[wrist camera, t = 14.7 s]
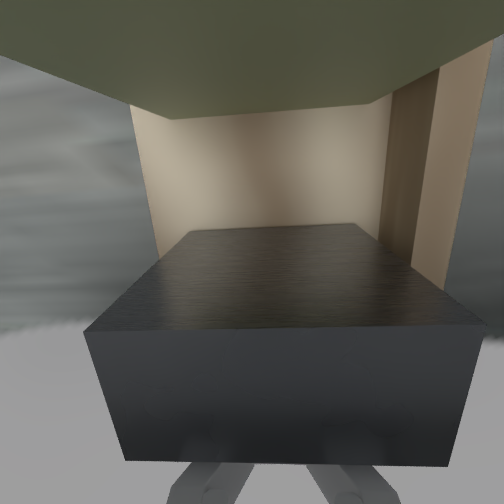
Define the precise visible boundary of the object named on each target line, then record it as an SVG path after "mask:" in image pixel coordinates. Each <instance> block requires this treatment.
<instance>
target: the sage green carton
mask: <svg viewBox="0 0 504 504" xmlns="http://www.w3.org/2000/svg"><path fill="white" fill-rule="evenodd" d="M502 34H504V0H0V55H2V56H4V57H7V58H9V59H12V60H15V61H17V62H20V63H23V64H25V65H28V66H30V67H33V68H36V69H38V70H41V71H44V72H46V73H49V74H51V75H54V76H57V77H59V78H62V79H65V80H67V81H70V82H72V83H75V84H78V85H80V86H83V87H86V88H88V89H91V90H93V91H96V92H99V93H101V94H104V95H106V96H109V97H112V98H114V99H117V100H120V101H122V102H125V103H127V104H130V105H133V106H135V107H138V108H141V109H143V110H146V111H148V112H151V113H154V114H156V115H159V116H162V117H164V118H167V119H169V120H175V119H188V118H201V117H213V116H226V115H238V114H251V113H264V112H276V111H289V110H301V109H314V108H326V107H339V106H352V105H364V104H370V103H372V102H374V101H376V100H378V99H380V98H382V97H384V96H386V95H388V94H389V93H391V92H393V91H395V90H397V89H399V88H401V87H403V86H405V85H407V84H409V83H410V82H412V81H414V80H416V79H418V78H420V77H422V76H424V75H426V74H428V73H430V72H431V71H433V70H435V69H437V68H439V67H441V66H443V65H445V64H447V63H449V62H451V61H452V60H454V59H456V58H458V57H460V56H462V55H464V54H466V53H468V52H470V51H472V50H473V49H475V48H477V47H479V46H481V45H483V44H485V43H487V42H489V41H491V40H493V39H494V38H496V37H498V36H500V35H502Z"/></svg>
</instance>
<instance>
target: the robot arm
mask: <svg viewBox="0 0 504 504" xmlns="http://www.w3.org/2000/svg"><path fill="white" fill-rule="evenodd" d="M254 464H273V463H222V462H192V463H191V464H190V465H189V466H188V467H187V469H186V470H185V471H184V472H183V474H182V475H181V476H180V477H179V478H178V479H177V481H176V482H175V483H174V484H173V485H172V487H171V490H170V493H169V497H168V500H167V504H234V503H235V501H236V499H237V497H238V495H239V493H240V491H241V489H242V488H243V486H244V484H245V482H246V480H247V479H248V477H249V475H250V473H251V471H252V469H253V467H254ZM295 465H306V466H307V468H308V470H309V472H310V473H311V474H312V476H313V478H314V480H315V481H316V483H317V485H318V486H319V488H320V489H321V491H322V493H323V494H324V496H325V498H326V499H327V501H328V502H329V504H401V502H400V500H399V497H398V494H397V492H396V491H395V490H394V489H393V488H392V487H391V486H390V485H389V484H388V483H387V481H386V480H385V479H384V478H383V477H382V476H381V475H380V474H379V473H378V472H377V471H376V470H375V469H374V467H373V466H372V465H324V464H295Z"/></svg>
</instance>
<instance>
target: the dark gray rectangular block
mask: <svg viewBox="0 0 504 504" xmlns="http://www.w3.org/2000/svg"><path fill="white" fill-rule="evenodd" d="M486 326H487V324H486V323H484V322H483V321H482V320H481V319H479V318H478V317H477V316H475V315H474V314H473V313H471V312H470V311H469V310H467V309H466V308H465V307H464V306H462V305H461V304H460V303H458V302H457V301H456V300H454V299H453V298H452V297H450V296H449V295H448V294H447V293H445V292H444V291H443V290H441V289H440V288H439V287H437V286H436V285H435V284H433V283H432V282H431V281H429V280H428V279H427V278H426V277H424V276H423V275H422V274H420V273H419V272H418V271H416V270H415V269H414V268H412V267H411V266H410V265H409V264H407V263H406V262H405V261H403V260H402V259H401V258H399V257H398V256H397V255H395V254H394V253H393V252H392V251H390V250H389V249H388V248H386V247H385V246H384V245H382V244H381V243H380V242H378V241H377V240H376V239H375V238H373V237H372V236H371V235H369V234H368V233H367V232H365V231H364V230H363V229H361V228H360V227H359V226H358V225H356V224H338V225H317V226H295V227H274V228H253V229H231V230H210V231H189V232H188V233H187V234H186V235H185V236H184V237H183V238H182V239H181V240H180V241H179V242H178V243H177V244H176V245H174V246H173V247H172V248H171V249H170V250H169V251H168V252H167V253H166V254H165V255H164V256H163V257H162V258H161V259H160V260H159V261H158V262H156V263H155V264H154V265H153V266H152V267H151V268H150V269H149V270H148V271H147V272H146V273H145V274H144V275H143V276H142V277H141V278H140V279H138V280H137V281H136V282H135V283H134V284H133V285H132V286H131V287H130V288H129V289H128V290H127V291H126V292H125V293H124V294H123V295H122V296H120V297H119V298H118V299H117V300H116V301H115V302H114V303H113V304H112V305H111V306H110V307H109V308H108V309H107V310H106V311H105V312H104V313H103V314H101V315H100V316H99V317H98V318H97V319H96V320H95V321H94V322H93V323H92V324H91V325H90V326H89V327H88V328H87V329H86V330H85V331H83V333H84V336H85V339H86V342H87V345H88V348H89V351H90V354H91V357H92V360H93V364H94V367H95V370H96V373H97V376H98V379H99V382H100V385H101V388H102V391H103V394H104V397H105V400H106V403H107V406H108V409H109V412H110V415H111V418H112V421H113V424H114V428H115V431H116V434H117V437H118V440H119V443H120V446H121V449H122V452H123V455H124V458H125V461H174V462H222V463H273V464H324V465H375V466H377V465H378V466H426V467H427V466H428V467H448V464H449V461H450V457H451V453H452V449H453V446H454V442H455V439H456V435H457V432H458V428H459V424H460V421H461V417H462V413H463V410H464V406H465V402H466V399H467V395H468V391H469V388H470V384H471V381H472V377H473V373H474V369H475V366H476V362H477V359H478V355H479V352H480V348H481V344H482V341H483V337H484V333H485V330H486Z"/></svg>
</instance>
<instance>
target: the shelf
mask: <svg viewBox="0 0 504 504" xmlns="http://www.w3.org/2000/svg"><path fill="white" fill-rule="evenodd" d="M493 40H494V39H493ZM493 40H491V41H489V42H487V43H485V44H483V45H481V46H479V47H477V48H475V49H473V50H472V51H470V52H468V53H466V54H464V55H462V56H460V57H458V58H456V59H454V60H452V61H451V62H449V63H447V64H445V65H443V66H441V67H439V68H437V69H435V70H433V71H431V72H430V73H428V74H426V75H424V76H422V77H420V78H418V79H416V80H414V81H412V82H410V83H409V84H407V85H405V86H403V87H401V88H399V89H397V90H395V91H393V92H391V93H389V94H388V95H386V96H384V97H382V98H380V99H378V100H376V101H374V102H372V103H370V104H364V105H352V106H339V107H326V108H314V109H301V110H289V111H276V112H264V113H251V114H238V115H226V116H213V117H201V118H188V119H175V120H169V119H167V118H164V117H162V116H159V115H156V114H154V113H151V112H148V111H146V110H143V109H141V108H138V107H135V106H133V105H130V109H131V114H132V119H133V125H134V130H135V135H136V140H137V145H138V151H139V156H140V161H141V166H142V171H143V177H144V182H145V187H146V192H147V197H148V202H149V208H150V213H151V218H152V223H153V228H154V234H155V239H156V244H157V249H158V254H159V260H160V259H161V258H162V257H163V256H164V255H165V254H166V253H167V252H168V251H169V250H170V249H171V248H172V247H173V246H174V245H176V244H177V243H178V242H179V241H180V240H181V239H182V238H183V237H184V236H185V235H186V234H187V233H188V232H189V231H210V230H231V229H253V228H274V227H295V226H317V225H338V224H356V225H358V226H359V227H360V228H361V229H363V230H364V231H365V232H367V233H368V234H369V235H371V236H372V237H373V238H375V239H376V240H377V241H378V242H380V243H381V244H382V245H384V246H385V247H386V248H388V249H389V250H390V251H392V252H393V253H394V254H395V255H397V256H398V257H399V258H401V259H402V260H403V261H405V262H406V263H407V264H409V265H410V266H411V267H412V268H414V269H415V270H416V271H418V272H419V273H420V274H422V275H423V276H424V277H426V278H427V279H428V280H429V281H431V282H432V283H433V284H435V285H436V286H437V287H439V288H440V289H441V290H444V285H445V280H446V275H447V270H448V265H449V260H450V255H451V250H452V245H453V240H454V235H455V230H456V225H457V220H458V215H459V210H460V205H461V200H462V195H463V190H464V185H465V180H466V175H467V170H468V165H469V160H470V155H471V150H472V145H473V140H474V135H475V130H476V125H477V120H478V115H479V110H480V105H481V100H482V95H483V90H484V85H485V80H486V75H487V70H488V65H489V60H490V55H491V50H492V45H493Z"/></svg>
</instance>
